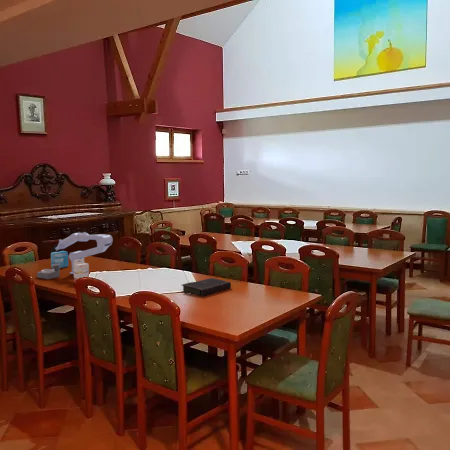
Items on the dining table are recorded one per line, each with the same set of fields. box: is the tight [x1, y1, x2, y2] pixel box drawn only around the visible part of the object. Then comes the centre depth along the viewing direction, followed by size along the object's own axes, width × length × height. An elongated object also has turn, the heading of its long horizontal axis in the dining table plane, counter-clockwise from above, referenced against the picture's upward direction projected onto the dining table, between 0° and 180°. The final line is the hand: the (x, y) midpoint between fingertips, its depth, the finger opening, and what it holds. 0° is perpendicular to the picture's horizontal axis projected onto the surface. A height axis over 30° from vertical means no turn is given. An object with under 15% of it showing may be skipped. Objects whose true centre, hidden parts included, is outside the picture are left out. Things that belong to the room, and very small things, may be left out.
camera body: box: [36, 268, 60, 280], centre depth 324 cm, size 12×9×5 cm
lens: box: [52, 263, 61, 274], centre depth 336 cm, size 5×5×7 cm
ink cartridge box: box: [73, 257, 90, 283], centre depth 309 cm, size 9×5×15 cm, turn 141°
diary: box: [181, 277, 232, 297], centre depth 281 cm, size 19×25×5 cm
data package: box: [50, 250, 69, 269], centre depth 358 cm, size 12×4×12 cm, turn 140°
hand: (54, 248), depth 342 cm, fingers open, 7 cm apart
